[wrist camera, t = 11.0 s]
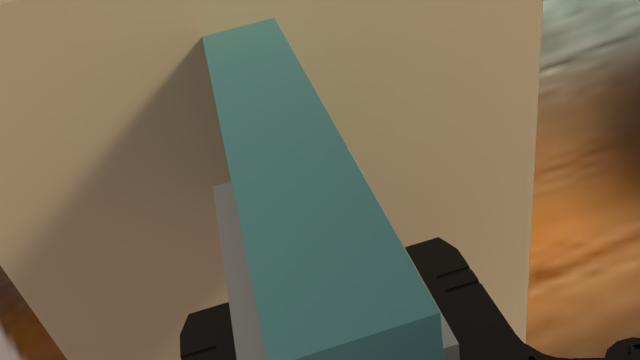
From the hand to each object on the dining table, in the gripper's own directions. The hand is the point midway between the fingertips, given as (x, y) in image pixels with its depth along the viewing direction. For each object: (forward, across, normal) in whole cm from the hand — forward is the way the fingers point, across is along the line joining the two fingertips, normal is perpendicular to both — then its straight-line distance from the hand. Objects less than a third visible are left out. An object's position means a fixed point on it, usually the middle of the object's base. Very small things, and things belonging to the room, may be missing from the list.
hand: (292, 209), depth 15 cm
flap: (+4, 0, -4) cm, 6 cm away
